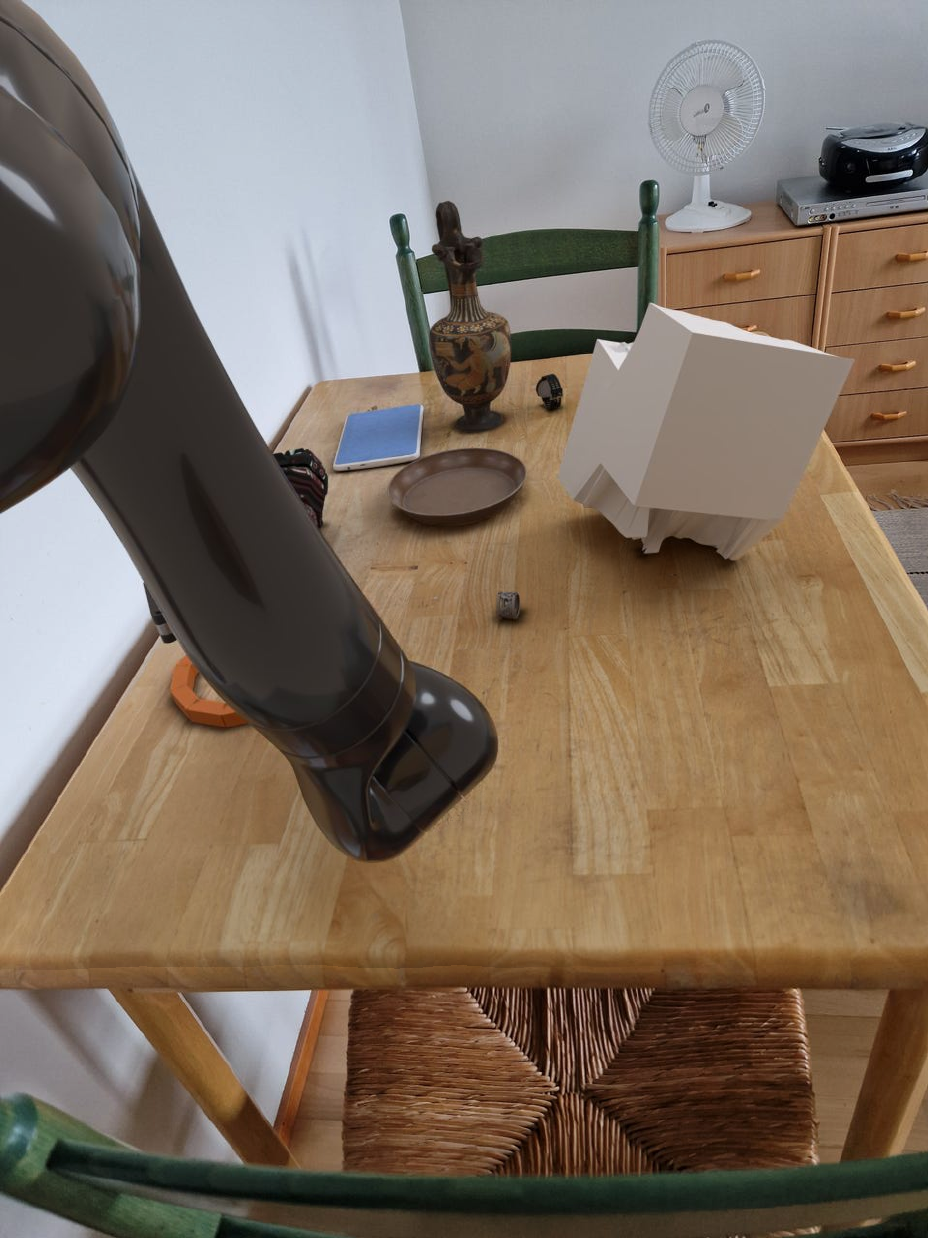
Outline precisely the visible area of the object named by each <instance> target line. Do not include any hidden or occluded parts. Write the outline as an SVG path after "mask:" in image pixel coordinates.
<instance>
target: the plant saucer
mask: <svg viewBox="0 0 928 1238" xmlns="http://www.w3.org/2000/svg"><path fill="white" fill-rule="evenodd" d="M527 471H528V470H527V467H526V464H525V463H524V462H523V460H521V458H519V457H518V456H516V455H515V454H512V453H510V452H507V451H504V450H500V449H495V448H489V447H487V448H486V447H461V448H453V449H447V450H443V451H439V452H435V453H432V454H429V455H426V456H423V457H421V458H418V459H416V460H414V461H411V463H408V464H407V465H405V466H404V467H402V468H400V470H398V471H397V472H396V473H395V474H394V475H393V476H392V477H391V479H390V481H389V482H388V485H387V490H386V491H387V492H386V493H387V497H388V499H389V500H390V502H391V503H392V505H394V506H395V507H396V508H397V509H398V510H400V511H401V512H402V513H404V514H405V515H406V516H408V517H410V518H411V519H413V520H415V521H417V522H420V523H423V524H425V525H431V526H437V527H438V526H439V527H449V526H450V527H453V526H463V525H468V524H469V525H470V524H474V523H476V522H480V521H483V520H486V519H488V518H490V517H492V516H495V515H496V514H498V513H499V512H501V511H502V510H504V509H505V508H506V507H508V506H509V505H510V503H511V502H512V501H513V500H514V499H515V498H516V497H517V496H518V495H519V493H520V491H521V489H523V486H524V484H525V481H526V479H527V474H528V472H527Z"/></svg>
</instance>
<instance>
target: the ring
mask: <svg viewBox="0 0 928 1238" xmlns="http://www.w3.org/2000/svg"><path fill="white" fill-rule="evenodd" d="M199 674H200V673H199V672H198V670H197V669H196V668H195V666H194V665H193V663H192V662H191V661H190V659H189V658H188V656H187V655H186V654H185V655H184V656H183V657H182V658H181V659H180V660H179V661H178V662H177V663H176V664H175V666H174V667H173V672H172V678H171V683H170V687H169V693H170V694H171V695H170V696H171V697H172V699H173V701H174V704H175V705H176V706H177V707H178V708H179V709H180V710H181V712H183V714H184V715H185V716H186V717H187V718H188V720H189V721H191V722H193V723H197V724H202V725H203V724H204V725H209V726H215V727H221V728H232V727H236V726H240V725H245V724H249V723H248V722H247V721H245V720H244V719H243V718H242V717H241V716H240V715H238V714H237V713H236V712H235V711H234V710H233V709H232V708H231V707H229V706H228V705H227V704H226V703H225V702H221V701H215V700H214V701H213V700H209V699H202V698H200V697H199V696H198V695H197V694H196V693H195V692H194V685H195V679H196V677H197V676H198V675H199Z"/></svg>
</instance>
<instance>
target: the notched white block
mask: <svg viewBox="0 0 928 1238" xmlns="http://www.w3.org/2000/svg"><path fill="white" fill-rule="evenodd" d="M855 361H856V359H855V358H854V357H852V358H849V357H842V356H838V355H835V354H830V353H827V352H824V351H822V350H820V349H816V348H814V347H811V346H809V345H806V344H803V343H799V342H797V341H794V340H791V339H780V338H777V337H774V336H773V337H772V336H768V335H761V334H758V333H754V332H751V331H748V330H744V329H742V328H740V327H737V326H735V325H732V324H731V323H729V322H725V321H724V320H722V321H720V320H715V319H711V318H707V317H703V316H700V315H696V314H693V313H688V312H685V311H682V310H677V309H676V310H675V309H671V308H666V307H663V306H660V305H657V304H656V303H652V302H648V306H647V309H646V312H645V314H644V317H643V319H642V322H641V325H640V328H639V330H638V332H637V335H636V337H635V339H634V341H632V342H629V343H626V342H625V341H623V342H617V341H612V340H611V341H610V340H605V339H600V338H597V339H596V342H595V345H594V349H593V352H592V356H591V359H590V361H589V362H590V363H589V366H588V369H587V373H586V377H585V378H584V379H585V380H584V383H583V386H582V390H581V393H580V396H579V401H578V404H577V408H576V411H575V414H574V418H573V422H572V424H571V428H570V431H569V435H568V439H567V442H566V446H565V449H564V452H563V455H562V458H561V462H560V465H559V469H558V473H557V479H558V480H559V482H560V484H561V485H562V487H563V488H564V491H566V493H567V495H568V496H569V497H570V498H571V500H572V501H574V502H577V503H579V504H581V505H582V506H583V508H585V509H593V510H595V511H597V512H599V513H601V514H602V515H603V517H605V518H606V520H608V521H609V522H610V523H611V524H612V525H613V526H614V527H615V529H616V530H617V531H618V532H619V533H620V534H621V535H622V536H623V537H625V538H627V539H629V538H632V541H634V540H635V541H636V540H639V539H641V542H642V545H643V546H642V550H641V551H644V550H645V551H644V552H643V554H653V553H654V554H656V553H659V552H660V548H661V546H662V543H663V541H665V539H666V538H669V537H675V538H676V539H691V540H692V541H694V542H695V543H698V544H700V545H703V546H710V547H713V548H715V549H717V550H716V551H715V552H716V553H717V554H719V555H721V556H722V557H723V558H724V560H727V559H729V560H730V561H738V560H740V559H741V558H742V557H743V556H744V555H746V554H747V553H748V552H749V551H750V550H751V549H753V548H754V547H755V546H756V545H757V544H758V543H760V542H761V541H762V540H763V539H765V537H767V535H768V534H770V533H771V532H772V531H773V530H774V529H776V528H777V527H778V526H779V525H780V524H782V522H783V521H784V519H785V517H786V515H787V512H788V510H789V508H790V506H791V504H792V502H793V498H794V497H795V494H796V493H797V490H798V488H799V485H800V483H801V481H802V480H803V479H802V478H803V476H804V474H805V472H806V470H807V468H808V466H809V463H810V461H811V458H812V456H813V454H814V452H815V450H816V448H817V445H818V443H819V441H820V438H821V437H822V434H823V432H824V430H825V427H826V426H827V423H828V421H829V419H830V416H831V414H832V412H833V410H834V408H835V405H836V403H837V401H838V398H839V396H840V394H841V391H842V390H843V387H844V386H845V383H846V380H847V379H848V376H849V374H850V372H851V369H852V367H853V365H854V363H855Z"/></svg>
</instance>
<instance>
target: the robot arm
mask: <svg viewBox="0 0 928 1238" xmlns="http://www.w3.org/2000/svg"><path fill="white" fill-rule="evenodd" d="M151 209H152V208H151V206H150V205H149V201H148V200H147V198H146V195H145V193H144V190H143V187H142V185H141V183H140V181H139V178H138V176H137V173H136V171H135V170H134V167H133V164H132V161H131V159H130V157H129V154H128V153H127V150H126V148H125V144H124V142H123V139H122V137H121V135H120V132H119V129H118V128H117V125H116V123H115V121H114V117H113V116H112V114H111V112H110V110H109V108H108V106H107V104H106V101H105V100H104V98H103V96H102V94H101V92H100V91H99V88H98V87H97V86H96V83H95V82H94V80H93V78H92V77H91V75H90V73H89V72H88V71H87V69H86V68H85V67H84V65H83V64H82V62H81V61H80V59H79V58H78V57H77V55H76V54H75V52H73V51H72V49H71V48H70V47H69V46H68V45H67V44H66V43H65V41H63V39H62V38H61V37H60V35H58V33H57V32H55V30H53V28H52V27H51V26H50V25H49V24H48V23H47V22H46V20H45V19H43V17H42V16H41V15H40V14H39V13H38V12H36V10H34V9H33V8H32V7H30V6H29V5H28V4H26V3H25V2H24V1H23V0H0V515H1V514H3V513H5V512H6V511H8V510H10V509H11V508H13V507H16V506H17V505H18V504H20V503H22V502H23V501H25V500H26V499H27V500H28V498H30V497H32V496H33V495H35V494H36V493H37V492H39V491H41V490H42V489H44V488H45V487H46V486H48V485H50V484H51V483H52V482H54V481H55V480H56V479H58V478H59V477H60V476H62V475H63V474H64V473H65V472H67V471H68V470H69V469H70V470H71V472H72V473H73V474H74V475H75V476H76V477H77V479H78V480H79V482H80V483H81V485H82V486H83V487H84V489H85V490H86V492H87V493H88V495H90V497H91V498H92V500H93V502H94V503H95V504H96V505H97V507H98V509H99V510H100V511H101V513H102V514H103V516H104V517H105V519H106V520H107V522H108V524H109V525H110V527H111V529H112V530H113V533H114V534H115V535H116V537H117V538H118V540H119V541H120V544H121V545H122V547H123V548H124V550H125V551H126V553H127V555H128V557H129V559H130V560H131V562H132V564H133V566H134V568H135V569H136V571H137V573H138V575H139V576H140V578H141V580H142V582H143V583H142V585H143V589H144V593H145V598H146V601H147V606H148V609H149V614H150V617H151V619H152V621H153V623H154V625H155V628H156V631H157V633H158V634H159V636H160V639H161V641H162V643H163V644H167V645H169V644H172V643H175V642H176V641H177V642H178V644H179V646H180V647H181V648H182V650H183V652H184V653H185V655H187V656H188V658H189V659H190V661H191V662H192V663H193V665H194V666H195V668H196V669H197V670H198V672H199V673H198V674H200V675H201V677H202V678H203V679H204V680H205V682H206V683H207V684H208V685H209V686H210V687H211V688H212V690H213V691H214V692H215V693H216V695H218V697H219V698H221V699H222V701H223V703H226V704H227V705H228V706H229V707H231V708H232V709H233V710H234V711H235V712H236V713H237V714H238V715H240V716H241V717H242V718H243V719H244V720H245V721H247V722H248V723H247V724H249V726H251V727H252V728H253V729H255V731H257V732H258V733H259V734H260V735H261V736H263V738H264V739H266V740H267V741H268V742H269V743H271V745H273V747H275V749H277V750H278V751H279V752H280V753H281V754H282V756H283V757H285V758H286V760H287V762H288V763H289V764H290V766H291V768H292V771H293V773H294V776H295V779H296V782H297V785H298V788H299V791H300V792H301V796H302V799H303V801H304V803H305V805H306V807H307V810H308V811H309V814H310V815H311V817H312V819H313V821H314V823H315V825H316V826H317V828H318V830H319V831H320V832H321V833H322V835H323V836H324V838H325V839H326V840H327V841H328V842H329V843H330V844H331V845H332V846H333V848H334V849H336V850H337V851H338V852H339V853H341V854H343V856H346V857H347V858H349V859H351V860H354V861H356V862H359V863H365V864H366V863H367V864H378V863H384V862H388V861H391V860H394V859H396V858H398V857H400V856H401V855H403V854H404V853H406V852H407V851H408V850H409V849H410V848H412V847H413V846H414V845H415V844H416V843H417V842H418V841H419V840H421V838H423V836H425V833H427V832H429V831H430V830H431V829H432V828H433V827H434V826H435V825H436V824H437V823H438V822H439V821H441V820H442V818H443V817H445V816H446V815H447V814H448V813H449V812H450V811H452V810H453V808H455V806H456V805H458V803H460V801H462V800H463V797H465V798H466V796H467V795H468V794H469V793H470V792H472V791H473V790H474V789H475V788H476V787H477V786H478V785H479V784H480V783H482V782H483V780H484V779H485V778H486V777H487V776H488V775H489V773H490V772H491V771H492V770H493V768H494V765H495V763H496V762H497V758H498V753H499V738H498V733H497V728H496V724H495V722H494V719H493V718H492V716H491V714H490V712H489V710H488V709H487V707H485V705H484V704H483V702H482V701H481V700H480V699H479V698H478V697H477V696H476V694H474V693H473V692H472V691H471V690H469V689H468V688H467V687H466V686H464V685H463V684H462V683H460V682H459V681H456V680H455V679H454V678H452V677H450V676H449V675H447V674H445V673H442V672H440V671H439V670H436V669H434V668H432V667H430V666H428V665H424V664H422V663H418V662H415V661H412V660H409V658H408V657H407V655H406V653H405V652H404V650H403V648H402V647H401V646H400V644H399V643H398V641H397V640H396V639H395V637H394V636H393V634H392V633H391V631H390V630H389V628H388V627H387V625H386V624H385V623H384V621H383V620H382V618H381V617H380V615H379V613H378V612H377V611H376V609H375V608H374V607H373V605H372V603H371V602H370V600H369V599H368V598H367V597H366V594H364V592H363V591H362V589H360V587H359V585H358V584H357V582H356V581H355V580H354V578H353V577H352V575H351V574H350V572H349V571H348V569H347V568H346V567H345V565H344V564H343V562H342V561H341V559H340V558H339V557H338V555H337V553H336V552H335V550H334V549H333V547H332V546H331V544H330V543H329V541H328V540H327V538H326V537H325V535H324V534H323V532H322V531H321V528H320V529H319V528H318V526H317V525H316V523H315V522H314V520H313V518H312V517H311V515H310V514H309V512H308V511H307V509H306V508H305V506H304V504H303V503H302V501H301V500H300V498H299V497H298V495H297V493H296V492H295V490H294V489H293V487H292V485H291V484H290V482H289V480H288V479H287V477H286V476H285V474H284V472H283V471H282V469H281V467H280V466H279V464H278V463H277V461H276V459H275V457H274V456H273V454H274V453H273V452H272V450H271V449H270V447H269V446H268V444H267V442H266V441H265V439H264V437H263V435H262V434H261V432H260V431H259V429H258V427H257V425H256V423H255V422H254V420H253V418H252V416H251V414H250V413H249V411H248V409H247V407H246V406H245V403H244V402H243V400H242V398H241V396H240V395H239V393H238V391H237V389H236V387H235V385H234V383H233V381H232V379H231V378H230V376H229V373H228V372H227V370H226V368H225V366H224V364H223V362H222V360H221V359H220V356H219V355H218V353H217V351H216V349H215V347H214V345H213V343H212V341H211V339H210V337H209V335H208V333H207V331H206V329H205V327H204V324H203V323H202V321H201V319H200V317H199V315H198V313H197V311H196V308H195V306H194V304H193V302H192V300H191V298H190V295H189V293H188V290H187V289H186V287H185V284H184V282H183V280H182V277H181V275H180V273H179V271H178V269H177V266H176V264H175V262H174V260H173V257H172V254H171V253H170V250H169V248H168V245H167V244H166V241H165V239H164V237H163V233H162V232H161V229H160V228H159V226H158V223H157V221H156V219H155V215H154V214H153V211H152V210H151Z"/></svg>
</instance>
